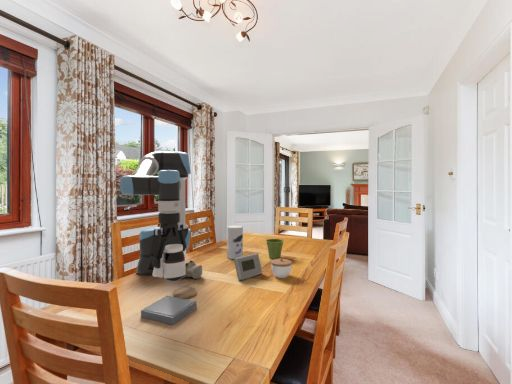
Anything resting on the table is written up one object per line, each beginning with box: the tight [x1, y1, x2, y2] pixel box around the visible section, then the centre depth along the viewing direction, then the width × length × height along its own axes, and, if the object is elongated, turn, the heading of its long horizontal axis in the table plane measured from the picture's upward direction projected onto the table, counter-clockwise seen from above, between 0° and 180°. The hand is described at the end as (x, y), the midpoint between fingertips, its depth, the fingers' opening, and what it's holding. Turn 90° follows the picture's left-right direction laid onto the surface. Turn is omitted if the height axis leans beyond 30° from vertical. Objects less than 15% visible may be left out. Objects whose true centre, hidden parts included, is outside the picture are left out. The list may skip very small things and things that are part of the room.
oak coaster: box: [172, 286, 198, 300], centre depth 119 cm, size 10×10×1 cm
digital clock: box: [233, 252, 263, 281], centre depth 142 cm, size 16×9×11 cm, turn 121°
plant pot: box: [265, 238, 285, 260], centre depth 177 cm, size 12×12×11 cm
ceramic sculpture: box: [184, 260, 203, 280], centre depth 141 cm, size 11×9×15 cm
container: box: [226, 225, 244, 260], centre depth 177 cm, size 10×10×20 cm
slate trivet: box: [140, 295, 197, 326], centre depth 102 cm, size 14×14×3 cm
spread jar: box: [152, 244, 186, 282], centre depth 100 cm, size 12×11×12 cm
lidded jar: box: [270, 257, 293, 279], centre depth 142 cm, size 11×11×9 cm
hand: (169, 272), depth 101 cm, fingers closed on spread jar, 10 cm apart
